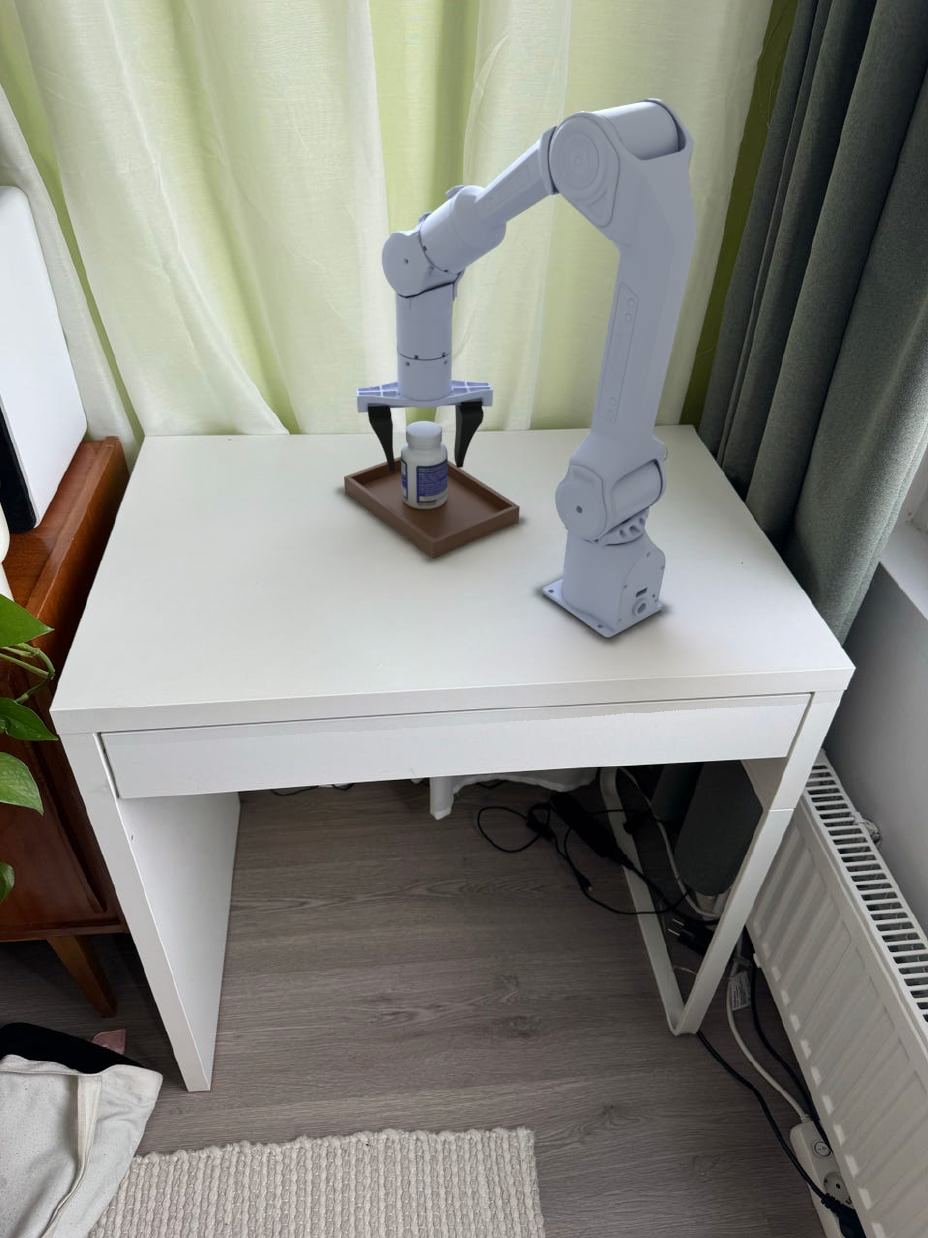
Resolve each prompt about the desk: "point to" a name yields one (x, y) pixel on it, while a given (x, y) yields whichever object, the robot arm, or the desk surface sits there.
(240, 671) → the desk surface
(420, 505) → the pill bottle
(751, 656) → the desk surface
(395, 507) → the tray
